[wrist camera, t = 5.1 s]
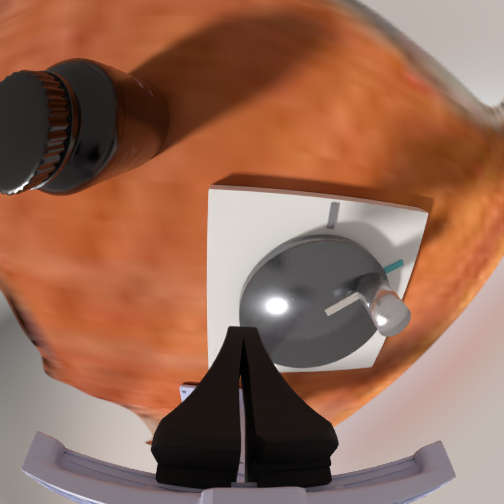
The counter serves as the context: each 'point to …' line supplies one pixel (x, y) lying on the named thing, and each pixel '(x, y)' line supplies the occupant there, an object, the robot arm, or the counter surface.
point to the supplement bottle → (76, 126)
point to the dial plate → (293, 227)
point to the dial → (319, 301)
